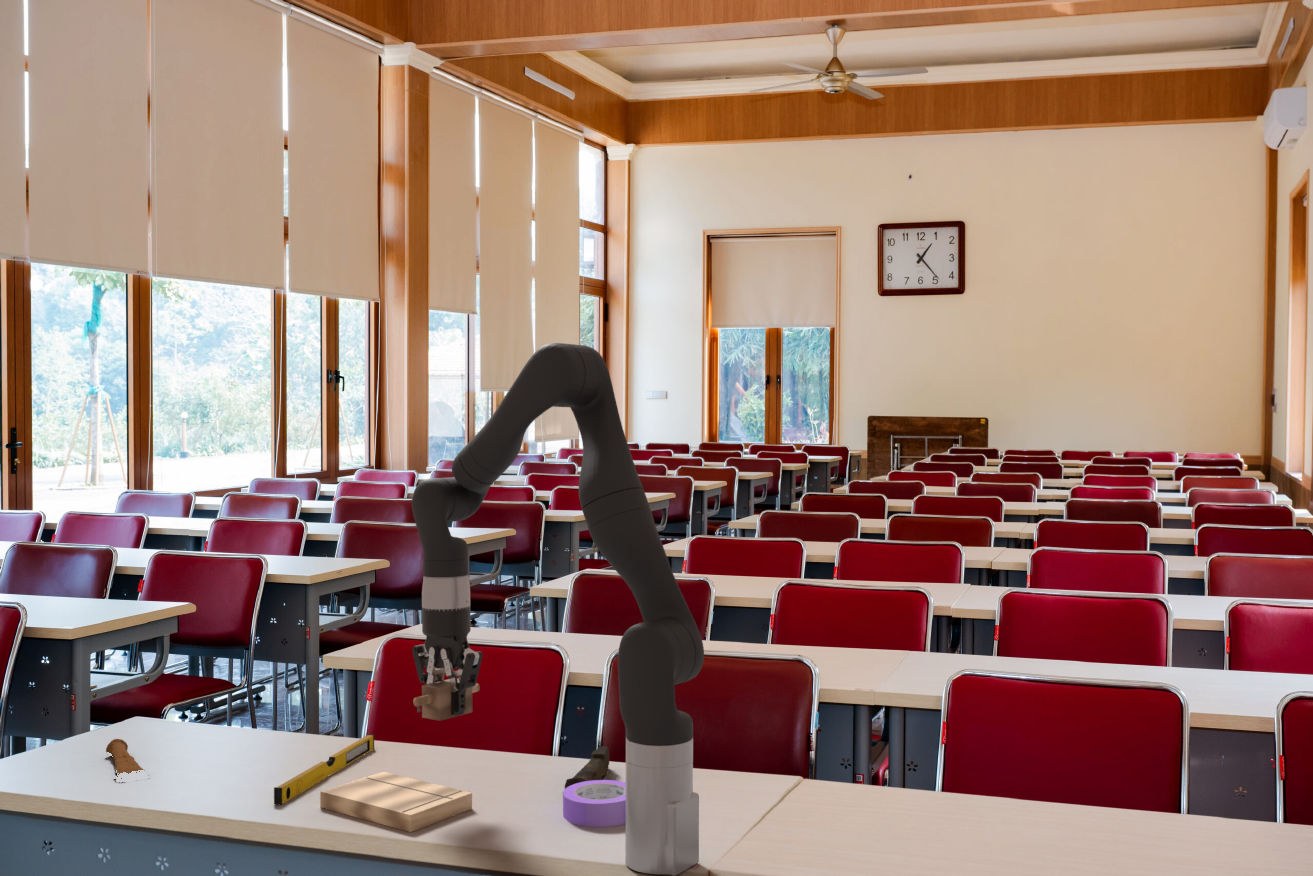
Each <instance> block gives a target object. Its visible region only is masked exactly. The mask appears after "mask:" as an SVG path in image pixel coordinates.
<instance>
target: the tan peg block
mask: <svg viewBox="0 0 1313 876" xmlns="http://www.w3.org/2000/svg"><path fill="white" fill-rule="evenodd" d="M457 681H458V683H459V678H457ZM479 691H480V684H479V683H477V682H476V685H475V686H474V687H471V688H468V689H466V693H465V694H466V701H465V702H466V708H465V711H464V713H463V714H461V715H458V716H454V715H452V714H451V692H453V691H452V690H451V685H450V680H449V678H448V679H444V680H443V681H439V682H435V683H431V684H423V685H421V695H420V696H417V697H414V698H413V700H412V701H413V705H414V707H416V711H417V712H416V713H421V718H422V719H423V718H424V719H426V720H428V719H429V720H434V721H439V722H441V721H445V720H448V719H452V718H456V717H460V716H463V715H467V714H471V713H473V694H474V693H477V692H479Z"/></svg>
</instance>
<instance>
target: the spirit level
mask: <svg viewBox="0 0 1313 876" xmlns="http://www.w3.org/2000/svg"><path fill="white" fill-rule="evenodd" d="M374 749H375V734H373V733H372V734H370V733H367V735H366V736H363V737H362V738H360V739H359V740H356V741H355V742H353V743H352V744H350V745H348V746H346V747H345V748H342V749H341V750H339V751H337V752H336V753H334V754H332V755H330V756H329V758H328V760H326V761H320V762H318V763H317V764H315V765H313V766H311V767H310V768H308V769H307V770H304V771H303V772H301V773H299V774H297V775H296V776H294V777H292V778H290V779H289V780H287V781H285V782H283V783H282V784H280V785H278V786H277V787H275V786H274V787H273V805H274V804H276V805H277V804H280V805H279V806H282V805H284V804H285V803H286V801H287V802H288V800H289V801H290V800H292V799H294V798H295V797H297V796H298V795H297V794H299V793H300V794H302V793H303V792H302V791H304V790H305V791H307V790H308V789H310V788H311V786H312V787H313V786H315V785H317V784H318V783H320V782H322V781H323V780H325V779H327V778H328V777H329V776H328V775H330V774H332V773H333V774H335V773H336V771H337V770H338V771H340V770H342V769H343V768H345V767H346V765H347V766H348V765H350V764H352V763H354V762H355V761H356V760H359V757H360V758H361V757H363V756H365V755H367V754H368V753H370V752H372V751H373V750H374ZM364 754H365V755H364ZM362 755H363V756H362ZM351 762H352V763H351ZM342 767H343V768H342ZM341 768H342V769H341ZM339 769H340V770H339ZM338 771H337V772H338ZM334 772H335V773H334ZM333 774H332V775H333ZM327 776H328V777H327ZM330 776H331V775H330ZM326 777H327V778H326ZM324 778H325V779H324ZM321 780H322V781H321ZM319 781H320V782H319ZM316 783H317V784H316ZM314 784H315V785H314ZM306 789H307V790H306ZM305 791H304V792H305ZM301 792H302V793H301ZM300 794H299V795H300ZM296 795H297V796H296ZM293 797H294V798H293ZM291 798H292V799H291ZM283 803H284V804H283Z"/></svg>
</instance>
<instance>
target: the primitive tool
mask: <svg viewBox="0 0 1313 876" xmlns="http://www.w3.org/2000/svg"><path fill="white" fill-rule="evenodd" d="M128 748H129V746H128V744H127V742H126V741H125V740H124V739H119V738H114V739H112V740H111V741H110V742H109V743H108V744H107V746H106V748H105V752H106V753H107V752H109V753H111V754H112V756H113V757H112V758H113V761H114V767H115V766H116V770H117V773H119V774H120V773H123V772H126V773H128V774H129V773H131V772H132V771H138V770H144V768H142V767H141V766H140V765H139V763H138V762H137V761H136V760H135V758H134V756H131V754H130V753H129V752H128ZM139 772H140V771H139ZM136 773H137V772H136ZM119 774H118V775H119ZM117 777H118V776H117ZM121 779H122V778H121Z"/></svg>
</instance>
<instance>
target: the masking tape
mask: <svg viewBox="0 0 1313 876" xmlns="http://www.w3.org/2000/svg"><path fill="white" fill-rule="evenodd" d="M625 813H626V781H620V780H613V779H600V780H592V781H585V782H580V783H576V784H573V785H571V786H569V787H567V788H566V789H565V788H564V790H563V791H562V815H563V816H562V817H563V818H564V820H565V821H567V822H569V823H571V824H574V825H578V826H582V827H583V826H584V827H593V828H605V827H607V828H608V827H615V826H617V827H618V826H621V825H625Z"/></svg>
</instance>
